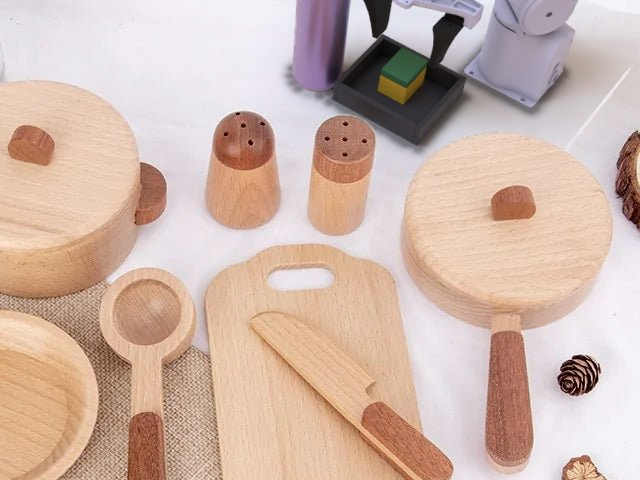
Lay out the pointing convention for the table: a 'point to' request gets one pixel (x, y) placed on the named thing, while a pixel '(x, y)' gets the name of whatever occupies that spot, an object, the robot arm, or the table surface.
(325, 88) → the beverage can
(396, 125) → the tray
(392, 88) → the sponge
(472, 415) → the table surface
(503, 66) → the robot arm
